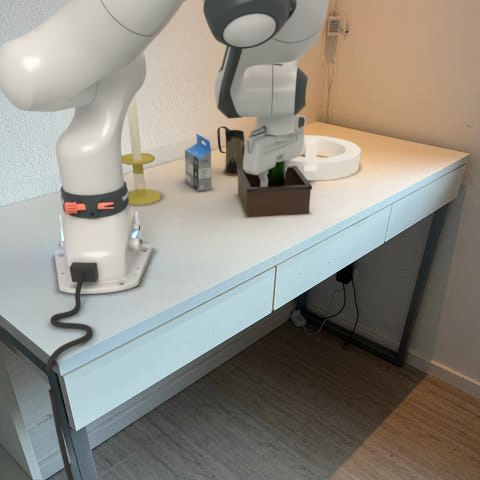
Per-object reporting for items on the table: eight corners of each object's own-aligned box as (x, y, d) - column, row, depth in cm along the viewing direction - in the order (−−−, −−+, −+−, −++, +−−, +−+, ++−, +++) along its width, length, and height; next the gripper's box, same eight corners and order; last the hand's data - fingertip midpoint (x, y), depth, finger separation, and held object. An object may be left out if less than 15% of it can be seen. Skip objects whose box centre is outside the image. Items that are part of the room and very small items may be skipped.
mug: (248, 171, 148) (248, 127, 141) (239, 177, 144) (239, 132, 137) (223, 167, 151) (223, 124, 144) (214, 172, 147) (213, 128, 140)
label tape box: (185, 181, 140) (182, 134, 134) (198, 179, 142) (197, 132, 135) (198, 192, 134) (196, 143, 127) (212, 189, 136) (211, 141, 129)
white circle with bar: (311, 145, 170) (312, 130, 167) (378, 167, 152) (381, 150, 149) (243, 161, 156) (243, 145, 153) (308, 187, 137) (310, 169, 135)
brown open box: (309, 214, 122) (312, 186, 118) (246, 217, 120) (246, 189, 116) (294, 191, 134) (296, 166, 131) (237, 194, 132) (237, 168, 129)
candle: (112, 197, 130) (96, 80, 115) (145, 188, 136) (134, 74, 121) (136, 208, 124) (123, 85, 109) (169, 197, 130) (161, 80, 115)
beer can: (272, 209, 124) (274, 159, 117) (256, 203, 127) (257, 154, 121) (287, 204, 127) (290, 154, 121) (270, 198, 130) (272, 149, 124)
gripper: (260, 134, 108) (259, 198, 116) (310, 116, 122) (305, 175, 130) (236, 130, 111) (236, 192, 119) (287, 113, 125) (284, 170, 133)
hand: (272, 183), depth 124 cm, fingers closed on beer can, 5 cm apart
